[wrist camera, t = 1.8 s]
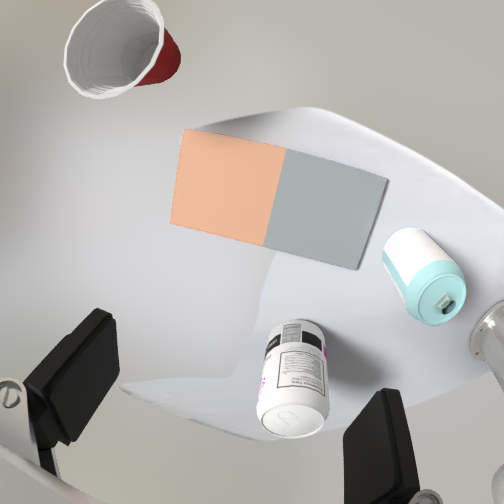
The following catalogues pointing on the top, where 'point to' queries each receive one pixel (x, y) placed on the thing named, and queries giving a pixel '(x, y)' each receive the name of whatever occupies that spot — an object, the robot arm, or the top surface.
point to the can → (424, 276)
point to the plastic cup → (119, 48)
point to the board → (275, 197)
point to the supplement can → (294, 381)
